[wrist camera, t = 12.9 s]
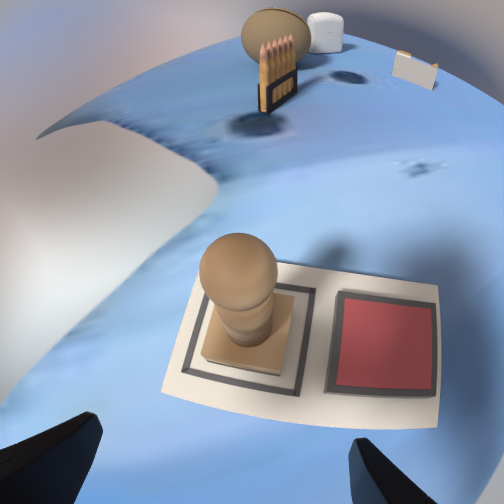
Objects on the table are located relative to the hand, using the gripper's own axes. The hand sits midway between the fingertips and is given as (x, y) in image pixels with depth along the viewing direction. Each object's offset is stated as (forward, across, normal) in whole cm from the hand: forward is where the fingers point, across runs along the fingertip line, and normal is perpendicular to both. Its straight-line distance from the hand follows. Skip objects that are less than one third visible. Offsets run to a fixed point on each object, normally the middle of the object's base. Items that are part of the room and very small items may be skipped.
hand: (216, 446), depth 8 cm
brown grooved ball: (+57, -2, -37) cm, 68 cm away
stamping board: (+14, -5, +4) cm, 16 cm away
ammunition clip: (+43, -3, -24) cm, 49 cm away
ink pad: (+13, -11, +4) cm, 17 cm away
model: (+58, -36, -37) cm, 78 cm away
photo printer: (+67, -16, -48) cm, 84 cm away
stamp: (+14, 0, +3) cm, 14 cm away
